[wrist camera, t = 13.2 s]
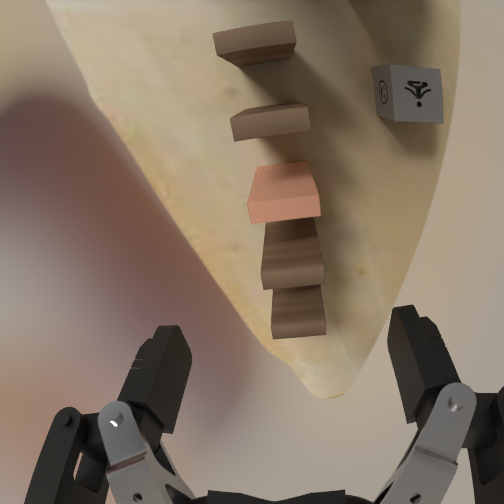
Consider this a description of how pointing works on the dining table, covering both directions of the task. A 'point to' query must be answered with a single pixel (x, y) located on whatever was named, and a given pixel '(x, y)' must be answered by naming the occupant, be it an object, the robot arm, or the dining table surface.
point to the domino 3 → (283, 193)
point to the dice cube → (408, 93)
